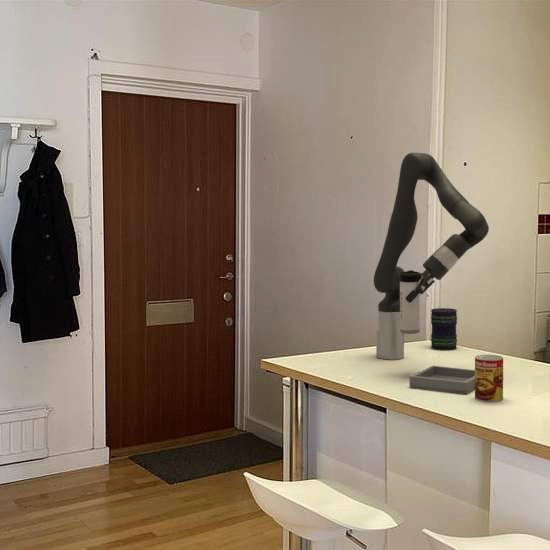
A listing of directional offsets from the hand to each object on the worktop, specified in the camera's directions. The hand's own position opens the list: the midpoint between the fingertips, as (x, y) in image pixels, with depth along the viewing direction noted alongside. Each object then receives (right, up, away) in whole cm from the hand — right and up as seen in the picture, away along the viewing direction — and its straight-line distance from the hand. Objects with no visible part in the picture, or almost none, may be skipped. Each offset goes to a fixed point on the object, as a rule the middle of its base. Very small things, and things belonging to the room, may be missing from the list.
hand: (405, 299), depth 258 cm
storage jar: (+23, -20, +48) cm, 57 cm away
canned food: (+19, -28, -29) cm, 45 cm away
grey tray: (+11, -26, -12) cm, 31 cm away
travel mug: (+2, -11, +1) cm, 11 cm away
